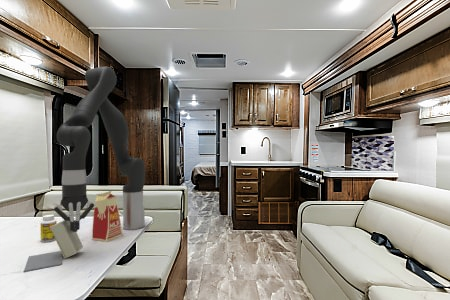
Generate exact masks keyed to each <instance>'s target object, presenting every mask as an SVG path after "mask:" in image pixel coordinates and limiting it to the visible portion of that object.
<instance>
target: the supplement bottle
mask: <svg viewBox="0 0 450 300" xmlns="http://www.w3.org/2000/svg"><path fill="white" fill-rule="evenodd" d="M57 223H58V222H57V219H56V218H55V215H54V214H46V215H43V216H42V220H41V221H40V241H41V242H42V243H48V242H53V241H56V240H55V238H54V235H53V233H52V231H51V229H50V227H51V226H53V225H55V224H57Z"/></svg>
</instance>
